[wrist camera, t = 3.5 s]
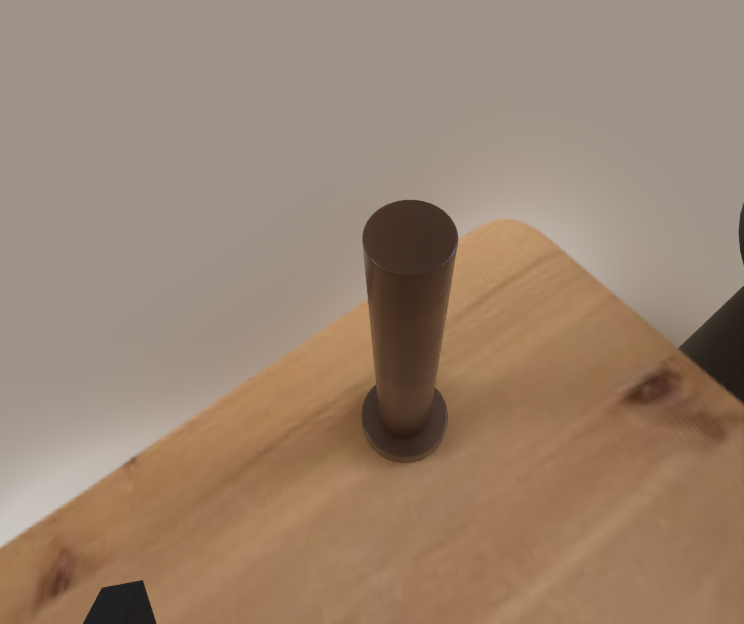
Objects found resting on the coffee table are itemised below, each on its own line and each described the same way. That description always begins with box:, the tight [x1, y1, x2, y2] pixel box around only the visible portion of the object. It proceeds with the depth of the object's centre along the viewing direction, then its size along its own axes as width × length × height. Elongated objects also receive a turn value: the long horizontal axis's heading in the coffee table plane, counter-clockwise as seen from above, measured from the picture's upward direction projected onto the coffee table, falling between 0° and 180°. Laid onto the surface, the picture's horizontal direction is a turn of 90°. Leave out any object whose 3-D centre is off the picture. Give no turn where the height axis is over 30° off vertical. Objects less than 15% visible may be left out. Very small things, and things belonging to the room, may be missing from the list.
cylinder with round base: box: [362, 200, 458, 463], centre depth 21 cm, size 4×4×16 cm
